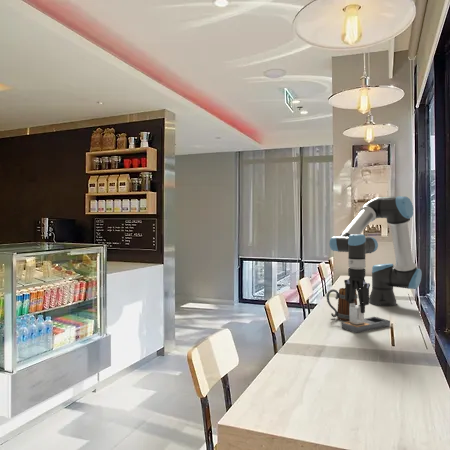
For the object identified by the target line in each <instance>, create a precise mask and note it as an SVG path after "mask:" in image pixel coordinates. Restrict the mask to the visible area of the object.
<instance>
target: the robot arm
mask: <svg viewBox="0 0 450 450" xmlns="http://www.w3.org/2000/svg"><path fill="white" fill-rule="evenodd" d="M413 216H414V205H413V202H412V199H410V198H409V197H408V196H401V195H398V196H396V195H395V196H379V197H375V198H372V199H371V200H369V201H367V202H366V203H365V204H363V205H362V206H360V208H359V210H358V214H357V215H356V216H355V217H354V218H353V219H352V221H351V222H349V224H348V225H347V226H346V227H345V228H344V230H343V231H342V232H341V233H340V235H336V236H332V237H330V239H329V248H330V250H331V251H332V252H338V253H341V252H342V253H347V254H348V257H347V259H348V264H347V266H348V273H347V275H348V277H349V278H348V279H344V280H343V281H344V288H345V300H346V301H348V303H349V306H353V305H355V303H353V302H355V301H354V298H355V293H356V294H357V298H358V302H359V303H358V304H359V306H358V320H364V319H365V313H366V306H369V305H370V304H371V305H375V306H381V307H382V306H383V307H388V306H389V307H390V306H392V307H393V306H396V305H397V298H396V295H395V292H394V288H402V289H408V290H416V289H418V288H419V286H420V283H421V282H422V276H423V275H422V274H423V273H422V269H421V268H418V267H417V263H415V261H414V260H413V253H412V252H413V251H412V246H411V237H410V230H409V223H410V221H411V218H412V217H413ZM376 219H386V224H388V225H390V231H391V237H392V244H393V249H394V257H395V264H394V263H378V264H374V265H373V266H372V269H371V283H369V282H368V283H367V282H366V280H365V278H366V254H372V253H374V252H376V251H377V250H378V247H379V243H378V241H377V239H376V238H374V237H370V236H369V237H368V236H367V237H366V235H365V234H362V233H363V231H365V229H366V228H367V227H368V225H369V224H370V223H372V222H374V221H375V220H376ZM370 287H371V292H370Z"/></svg>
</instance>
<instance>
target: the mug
mask: <svg viewBox="0 0 450 450" xmlns="http://www.w3.org/2000/svg"><path fill="white" fill-rule="evenodd" d="M331 293H336V296H335V297H334V298H335V300H337V310H336V308H335V307H334V306H333V305H332V304H331V302H330V294H331ZM354 301H355V302H353V303H355V305H358V293H357V292H356V293H355V298H354ZM326 302H327V304H328V306H329V307H330V308H331V309H332V310H333V311H334V313H333V312H331V313H330V315H331V317H333V318H337V319H338V320H341V321H343V322H349V321H350V316H349V303H348V301H346V300H345V287H341V288H339V290H336V289H334V288H332V289H329V290H328V291H327V293H326Z"/></svg>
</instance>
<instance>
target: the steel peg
mask: <svg viewBox="0 0 450 450" xmlns="http://www.w3.org/2000/svg"><path fill="white" fill-rule="evenodd" d="M359 305H360V304H359ZM359 305H358V304H357V305H353V306H349V316H350V324H353V325H356V326H358V325H364V320H358V306H359Z"/></svg>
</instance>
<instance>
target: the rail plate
mask: <svg viewBox="0 0 450 450" xmlns="http://www.w3.org/2000/svg"><path fill="white" fill-rule="evenodd" d="M387 327H391V320H388V319H385V318H380V317H378V316H371V317H366V318H365V317H364V325H358V326H356V325H353V324H350V321H343V322H341V329H343V330H345V331H349V332H353V333H355V334H359V333H364V332H369V331H373V330H378V329H383V328H387Z"/></svg>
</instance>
